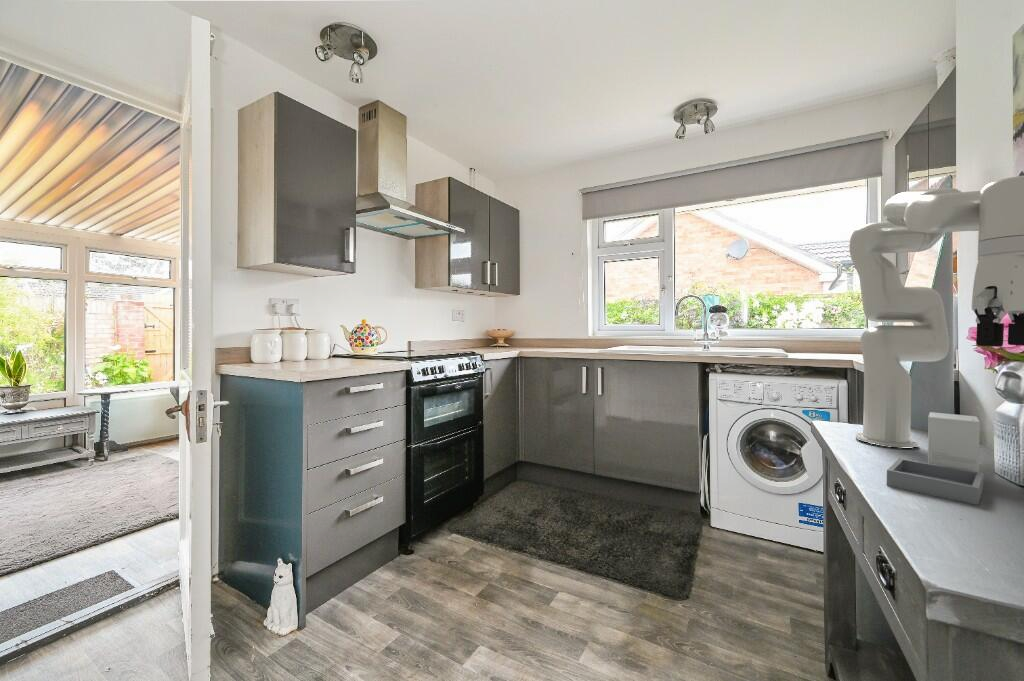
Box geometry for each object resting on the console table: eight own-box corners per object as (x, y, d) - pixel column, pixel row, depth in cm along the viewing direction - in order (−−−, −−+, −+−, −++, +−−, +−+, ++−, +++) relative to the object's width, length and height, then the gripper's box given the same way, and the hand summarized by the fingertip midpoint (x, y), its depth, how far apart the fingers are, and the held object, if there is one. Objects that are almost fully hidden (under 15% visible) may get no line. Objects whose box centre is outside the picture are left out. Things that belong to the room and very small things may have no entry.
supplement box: (976, 476, 88) (978, 416, 88) (978, 485, 83) (981, 421, 83) (927, 467, 94) (929, 411, 93) (926, 475, 88) (928, 415, 88)
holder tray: (898, 472, 91) (899, 458, 91) (983, 488, 81) (983, 473, 81) (886, 485, 83) (886, 470, 83) (978, 505, 74) (978, 488, 74)
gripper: (1007, 255, 81) (1003, 344, 82) (951, 250, 76) (948, 345, 77) (1067, 248, 74) (1063, 345, 75) (1011, 242, 69) (1007, 347, 69)
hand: (1005, 345), depth 76 cm, fingers open, 9 cm apart
